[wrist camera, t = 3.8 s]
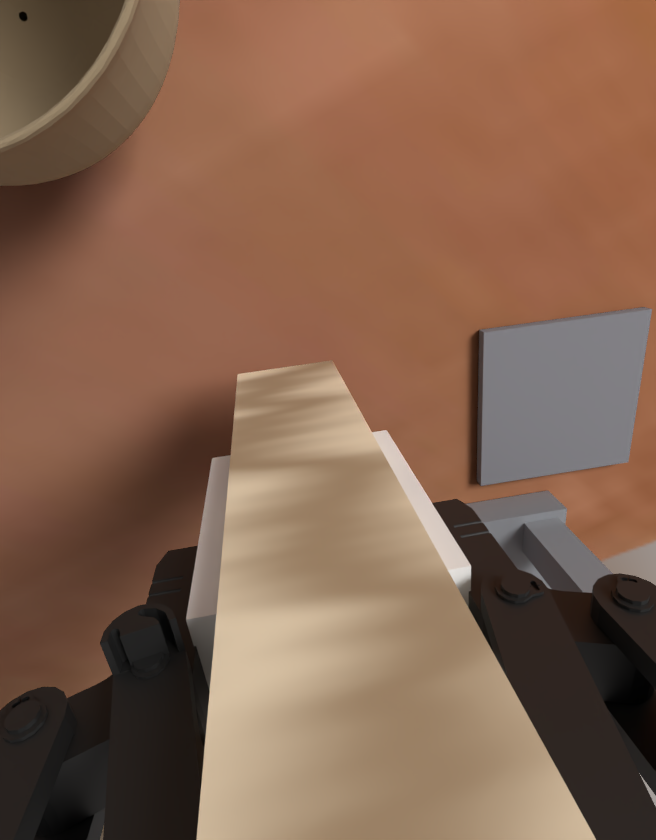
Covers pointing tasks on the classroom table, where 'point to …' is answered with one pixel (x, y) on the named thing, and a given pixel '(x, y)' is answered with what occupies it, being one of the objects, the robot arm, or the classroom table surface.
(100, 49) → the bowl
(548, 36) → the classroom table surface
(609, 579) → the robot arm
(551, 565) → the grey open box frame
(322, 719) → the light wooden bar
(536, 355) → the pad
